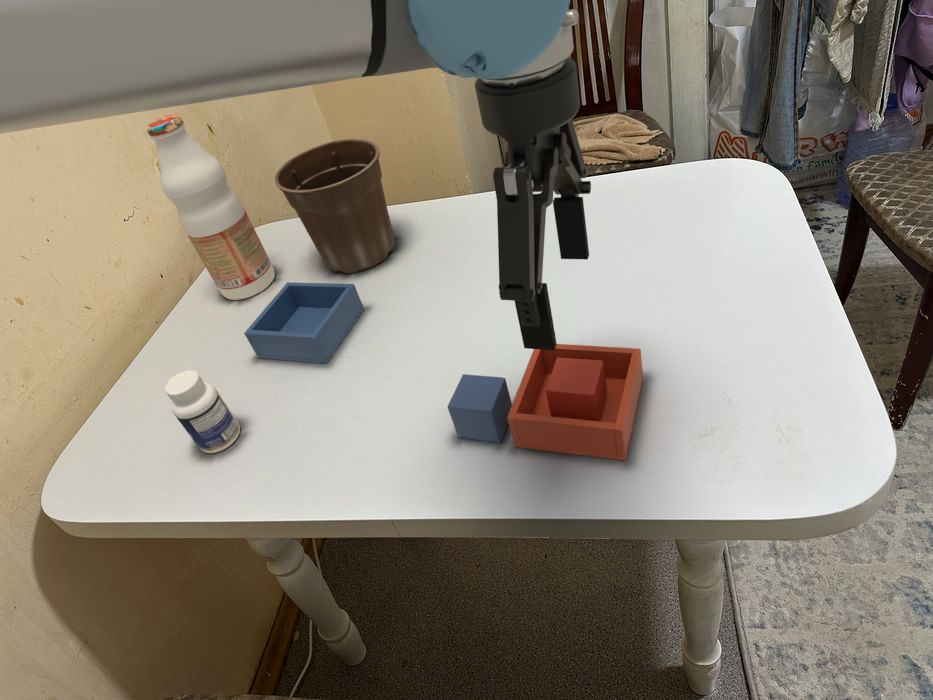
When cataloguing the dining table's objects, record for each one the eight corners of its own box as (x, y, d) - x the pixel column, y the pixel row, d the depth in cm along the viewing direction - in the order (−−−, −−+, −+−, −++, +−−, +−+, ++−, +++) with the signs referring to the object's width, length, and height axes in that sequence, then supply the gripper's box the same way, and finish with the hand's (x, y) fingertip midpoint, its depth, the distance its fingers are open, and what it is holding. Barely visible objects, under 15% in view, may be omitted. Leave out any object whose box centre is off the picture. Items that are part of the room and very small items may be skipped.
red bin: (514, 447, 70) (506, 417, 67) (542, 371, 78) (536, 342, 75) (625, 460, 65) (622, 430, 62) (643, 379, 73) (640, 348, 70)
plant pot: (425, 251, 104) (395, 156, 94) (332, 296, 100) (291, 202, 90) (385, 216, 116) (355, 129, 106) (301, 255, 112) (262, 168, 102)
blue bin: (257, 358, 93) (243, 333, 90) (299, 306, 100) (287, 282, 97) (327, 363, 88) (314, 337, 85) (364, 309, 96) (354, 283, 93)
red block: (552, 423, 70) (545, 390, 67) (562, 390, 74) (556, 357, 71) (598, 428, 68) (593, 394, 65) (607, 393, 72) (603, 360, 69)
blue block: (457, 437, 73) (447, 406, 69) (472, 405, 76) (462, 373, 73) (500, 443, 71) (491, 411, 68) (513, 409, 74) (505, 377, 71)
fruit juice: (225, 309, 105) (129, 143, 87) (218, 282, 112) (128, 123, 94) (281, 285, 106) (198, 117, 88) (271, 260, 113) (192, 100, 96)
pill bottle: (196, 435, 83) (155, 380, 77) (236, 414, 84) (199, 358, 78) (203, 461, 79) (161, 405, 73) (245, 440, 80) (207, 383, 74)
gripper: (526, 140, 38) (568, 397, 52) (607, 6, 55) (622, 226, 68) (411, 146, 41) (479, 388, 54) (521, 17, 58) (552, 226, 71)
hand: (559, 298), depth 61 cm, fingers open, 13 cm apart
